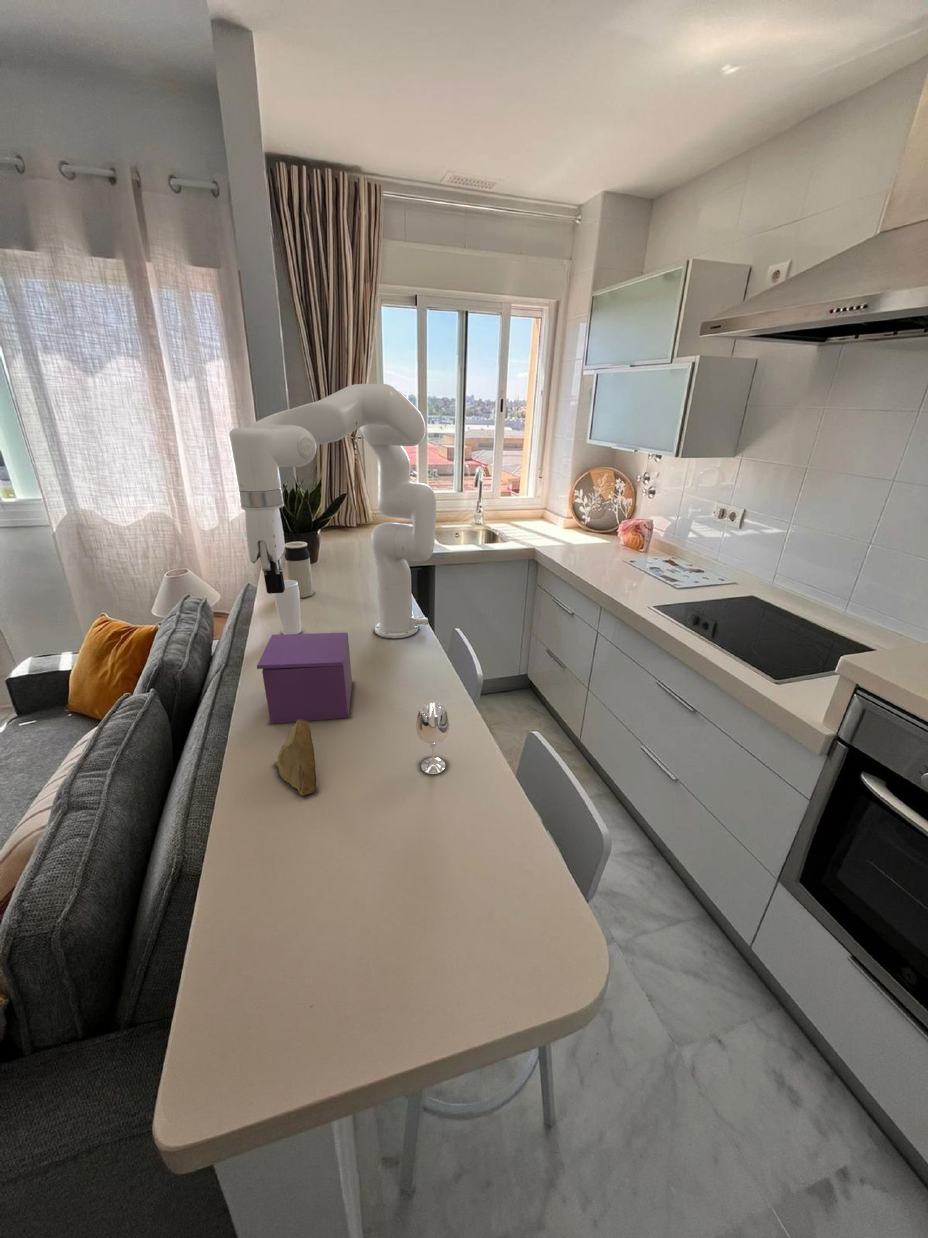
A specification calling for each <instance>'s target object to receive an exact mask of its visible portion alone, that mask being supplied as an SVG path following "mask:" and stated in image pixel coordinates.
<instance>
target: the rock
mask: <svg viewBox="0 0 928 1238" xmlns="http://www.w3.org/2000/svg"><path fill="white" fill-rule="evenodd" d="M275 766H276V767H277V769H278V774H279V776H280V777H281V778H282V779H283V781H284V782H286V783H287V784H289V785H290V786H291V787H292V788H294V789H296V790H297V791H298V794H299V795H300V796H302V797H303V796H307V795H309V794H313V793H315V792H316V787H317V784H316V783H317V771H316V758H315V748H314V743H313V738H312V730H311V725H310V721H305V720H301V719H298V720H297V721H296V722H294V724H293V725H292V727H291V729H290V731H288V734H287V736H286V737H285V742H284V743H283V744H282V745H281V748H280V750H279V753H278V755H277V761H276V763H275Z"/></svg>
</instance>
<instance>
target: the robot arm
mask: <svg viewBox="0 0 928 1238" xmlns="http://www.w3.org/2000/svg"><path fill="white" fill-rule="evenodd" d="M357 430H359V431H360V434H361V435H362V437H363V438H364V440H365V441H366V443H367V444H368V446H369V447H370V448H371V450H372V451H373V454H374V456H375V459H376V463H377V509H378V511H379V513H380V514H381V515H383V516H385V517H389V518H395V519H403V520H411V522H412V524H409V523H408V524H407V523H402V522H390V521H389V522H388V521H387V522H381V523H379V524H377V525H375V527H374V528H373V529H372V531H371V535H370V545H371V548H372V552H373V553H372V554H373V557H374V560H375V569H376V582H377V585H376V586H377V599H378V602H377V603H378V618H379V619H378V620H379V621H378V622H377V623H376V624H375V625H374V633H375V634H376V635H377V636H379V637H381V638H386V639H403V638H408V637H410V636H412V635H414V634H416V633H417V632H418V631H419V626H420V625H429V618H428V617H424V615H417V616H416V615H414V611H413V595H412V593H413V592H412V573H411V571H412V570H411V568H410V565H409V563H408V561H411V562H419V563H420V562H421V563H422V562H426V561H428V560H429V559H430V558H431V557H432V555H433V553H434V550H435V549H434V548H435V542H436V541H435V540H436V523H437V521H436V520H437V498H436V494H435V492H434V490H433V488H432V487H431V486H430V485H428V484H426V483H422V482H412V481H411V461H410V457H409V456H408V453H407V451H406V450H405V448H404V447H415V446H418V445H419V444H421V443H422V441H423V440H424V438H425V435H426V422H425V419H424V416H423V414H422V412H421V411H420V410H419V409H418V407H416V406H415V405H414V404H413V403H412V402H411V401H410V400H409V399H408V398H407V397H406V396H405V395H404V394H403V393H402V392H400V391H399V390H398V389H397V388H395V387H394V386H392V385H390V384H387V383H355V384H351V385H348V386H346V387H344V388H342V389H339V390H337V391H336V392H334V393H332V394H330V395H327V396H325V397H324V398H321V399H319V400H316V401H313V402H308V403H305V404H302V405H300V406H296V407H293V408H288V409H286V410H281V411H279V412H275V413H273V414H270V415H268V416H265V417H263V418H261V419H259V420H256V421H255V422H253V423H251V424H250V425H249V426H248V427H236V428H235V427H234V428H232V429H231V430H230V431H229V432H228V440H229V441H228V442H229V448H230V453H231V459H232V467H233V471H234V477H235V482H236V489H237V494H238V499H239V505H240V509H241V510H244V521H245V523H244V525H245V534H246V542H247V548H248V555H249V556H248V558H249V561H250V563H251V564H256V563H257V561H259V559H260V562H261V571H262V572H263V579H264V584H265V590H266V594H269V595H271V594H274V593H283V592H284V590H285V585H284V580H285V579H284V573H283V567H282V555H284V553H285V551H286V549H285V544H286V543H285V534H284V528H283V522H282V517H281V511H280V509H281V508H283V507H285V504H284V503H285V502H284V495H283V489H282V482H281V475H280V468H282V467H284V468H285V467H287V468H302V467H304V466H306V465H308V464H310V463H311V462H312V461H313V460H314V459H315V456H316V454H317V445H325V444H330V443H334V442H338V441H340V440H342V439H344V438H346V437H347V436H349V435H350V434H352V433H353V432H355V431H357ZM418 625H419V626H418Z"/></svg>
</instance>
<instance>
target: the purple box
mask: <svg viewBox="0 0 928 1238" xmlns="http://www.w3.org/2000/svg"><path fill="white" fill-rule="evenodd" d="M261 673H262V679H263V687H264V691H265V698H266V704H267V709H268V716H269V721H270V722H269V723H270V724H271V725H273V724H282V723H283V724H284V723H285V724H287V723H296V721H297V720H298V719H301V720H305V721H307V722H312V721H324V720H336V719H337V720H338V719H339V720H340V719H348V718H349V716H350V715H349V714H350V707H351V696H352V687H353V677H352V666H351V655H350V643H349V638H348V639H347V645H346V652H345V658H344V665H343V666H321V667H295V668H269V669H261Z"/></svg>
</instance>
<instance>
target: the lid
mask: <svg viewBox="0 0 928 1238" xmlns="http://www.w3.org/2000/svg"><path fill="white" fill-rule="evenodd" d="M347 639H348V640H349V632H316V633H299V634H283V633H281V634H271V635H270V638H269V640H268V641H267V644H266V646H265V648H264V650H263V652H262V655H261V656H260V658H259V660H258V662H257V664H256V669H257V670H263V669H269V668H295V667H321V666H343V665H344V658H345V652H346V645H347Z"/></svg>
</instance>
